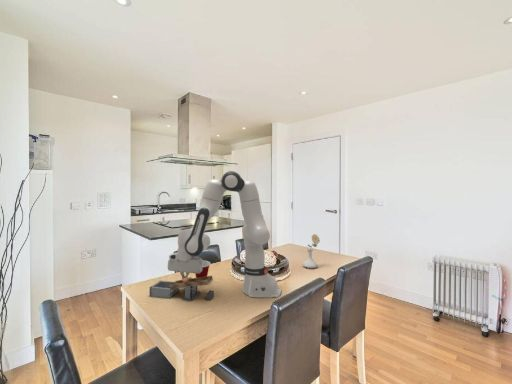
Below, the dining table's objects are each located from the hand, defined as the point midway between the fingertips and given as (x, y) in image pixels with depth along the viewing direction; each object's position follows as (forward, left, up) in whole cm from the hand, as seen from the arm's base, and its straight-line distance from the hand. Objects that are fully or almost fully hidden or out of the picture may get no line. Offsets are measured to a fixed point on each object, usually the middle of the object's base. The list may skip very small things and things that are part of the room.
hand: (184, 279), depth 147 cm
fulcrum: (-7, +7, -6) cm, 12 cm away
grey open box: (+9, +7, -6) cm, 13 cm away
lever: (-8, +3, 0) cm, 8 cm away
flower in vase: (-72, -60, -6) cm, 94 cm away
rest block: (-18, +7, -6) cm, 20 cm away
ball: (-4, +7, +2) cm, 8 cm away
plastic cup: (-4, -14, -6) cm, 16 cm away
